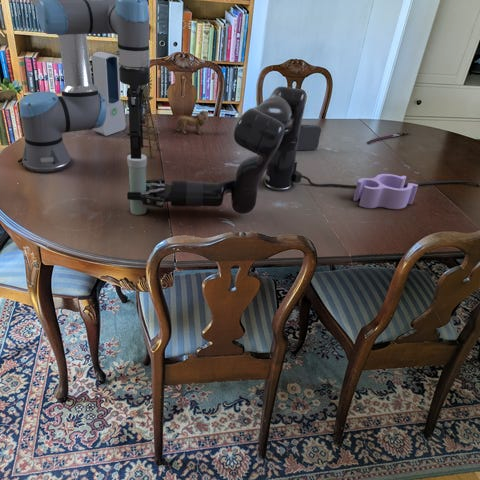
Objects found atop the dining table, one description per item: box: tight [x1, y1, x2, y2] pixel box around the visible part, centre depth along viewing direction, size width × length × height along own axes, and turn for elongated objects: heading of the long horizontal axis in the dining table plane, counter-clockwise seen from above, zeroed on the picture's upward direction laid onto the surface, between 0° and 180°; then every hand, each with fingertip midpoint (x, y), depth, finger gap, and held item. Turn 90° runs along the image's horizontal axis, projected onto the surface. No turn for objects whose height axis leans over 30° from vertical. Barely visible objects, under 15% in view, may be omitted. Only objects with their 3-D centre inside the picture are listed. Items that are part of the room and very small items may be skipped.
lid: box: [126, 153, 148, 168], centre depth 130 cm, size 5×5×2 cm
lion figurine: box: [173, 110, 209, 135], centre depth 195 cm, size 15×5×9 cm, turn 110°
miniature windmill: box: [141, 72, 160, 158], centre depth 168 cm, size 9×8×30 cm
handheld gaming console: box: [297, 124, 322, 151], centre depth 189 cm, size 23×3×10 cm, turn 108°
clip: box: [352, 173, 419, 210], centre depth 157 cm, size 20×12×7 cm, turn 109°
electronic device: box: [91, 51, 127, 137], centre depth 182 cm, size 12×8×30 cm, turn 148°
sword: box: [367, 132, 410, 144], centre depth 214 cm, size 31×3×1 cm, turn 126°
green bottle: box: [128, 165, 148, 216], centre depth 134 cm, size 5×5×17 cm
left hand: (137, 152), depth 129 cm, fingers open, 7 cm apart
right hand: (128, 191), depth 135 cm, fingers closed on green bottle, 4 cm apart
